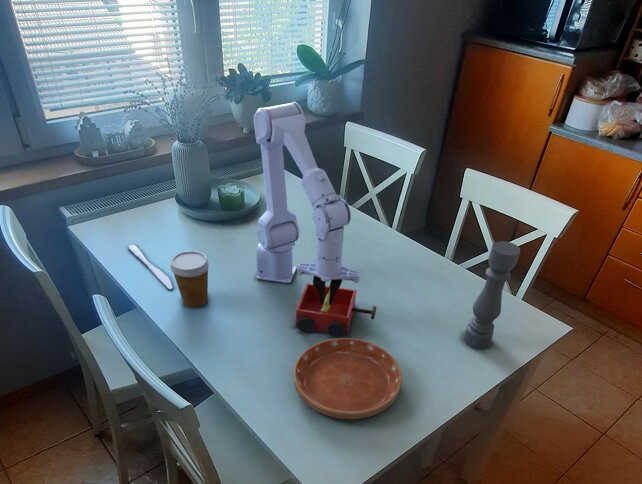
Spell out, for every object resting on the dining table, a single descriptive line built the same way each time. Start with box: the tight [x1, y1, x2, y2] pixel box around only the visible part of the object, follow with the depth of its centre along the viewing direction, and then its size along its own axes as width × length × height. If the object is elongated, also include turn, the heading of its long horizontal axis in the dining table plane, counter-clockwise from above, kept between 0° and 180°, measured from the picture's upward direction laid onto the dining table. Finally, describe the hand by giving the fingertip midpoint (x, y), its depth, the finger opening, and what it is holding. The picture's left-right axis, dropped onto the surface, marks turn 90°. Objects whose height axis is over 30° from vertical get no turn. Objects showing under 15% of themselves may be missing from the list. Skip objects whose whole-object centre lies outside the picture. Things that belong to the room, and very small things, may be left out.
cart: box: [295, 282, 357, 336], centre depth 127 cm, size 13×12×5 cm
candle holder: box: [463, 240, 521, 350], centre depth 115 cm, size 6×6×25 cm
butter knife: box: [128, 244, 173, 290], centre depth 144 cm, size 1×27×3 cm
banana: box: [321, 287, 330, 313], centre depth 126 cm, size 8×2×4 cm, turn 168°
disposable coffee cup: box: [169, 250, 210, 308], centre depth 129 cm, size 10×10×12 cm
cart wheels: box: [296, 305, 377, 338], centre depth 127 cm, size 18×14×4 cm
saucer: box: [293, 337, 403, 420], centre depth 110 cm, size 23×23×4 cm
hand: (326, 301), depth 126 cm, fingers closed on banana, 1 cm apart
